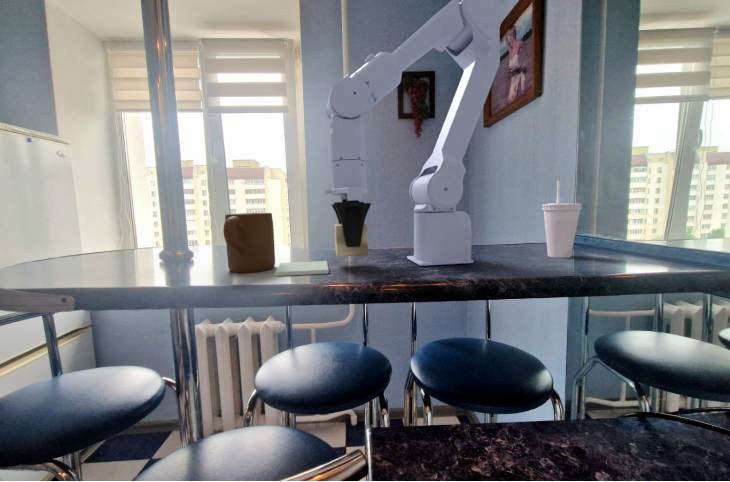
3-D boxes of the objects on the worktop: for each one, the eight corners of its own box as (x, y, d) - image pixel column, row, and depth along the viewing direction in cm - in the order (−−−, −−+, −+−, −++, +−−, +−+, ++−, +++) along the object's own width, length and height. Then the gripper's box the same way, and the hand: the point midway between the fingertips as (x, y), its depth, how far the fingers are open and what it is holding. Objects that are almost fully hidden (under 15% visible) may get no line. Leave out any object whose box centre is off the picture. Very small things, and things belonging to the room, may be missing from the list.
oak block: (363, 251, 57) (362, 222, 57) (368, 255, 52) (367, 224, 52) (335, 252, 57) (334, 224, 56) (337, 257, 52) (336, 225, 51)
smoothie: (547, 252, 65) (550, 181, 63) (584, 255, 60) (588, 179, 58) (533, 256, 61) (536, 180, 59) (572, 260, 56) (576, 178, 54)
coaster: (326, 264, 58) (326, 260, 57) (328, 273, 50) (328, 269, 50) (280, 266, 56) (280, 263, 56) (275, 276, 48) (274, 272, 48)
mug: (256, 279, 46) (252, 214, 45) (204, 280, 47) (199, 215, 46) (281, 264, 58) (278, 212, 57) (240, 265, 59) (236, 213, 58)
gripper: (322, 167, 59) (325, 241, 61) (325, 155, 45) (329, 251, 47) (360, 167, 60) (362, 239, 62) (374, 155, 46) (377, 249, 48)
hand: (351, 244), depth 54 cm, fingers closed on oak block, 5 cm apart
